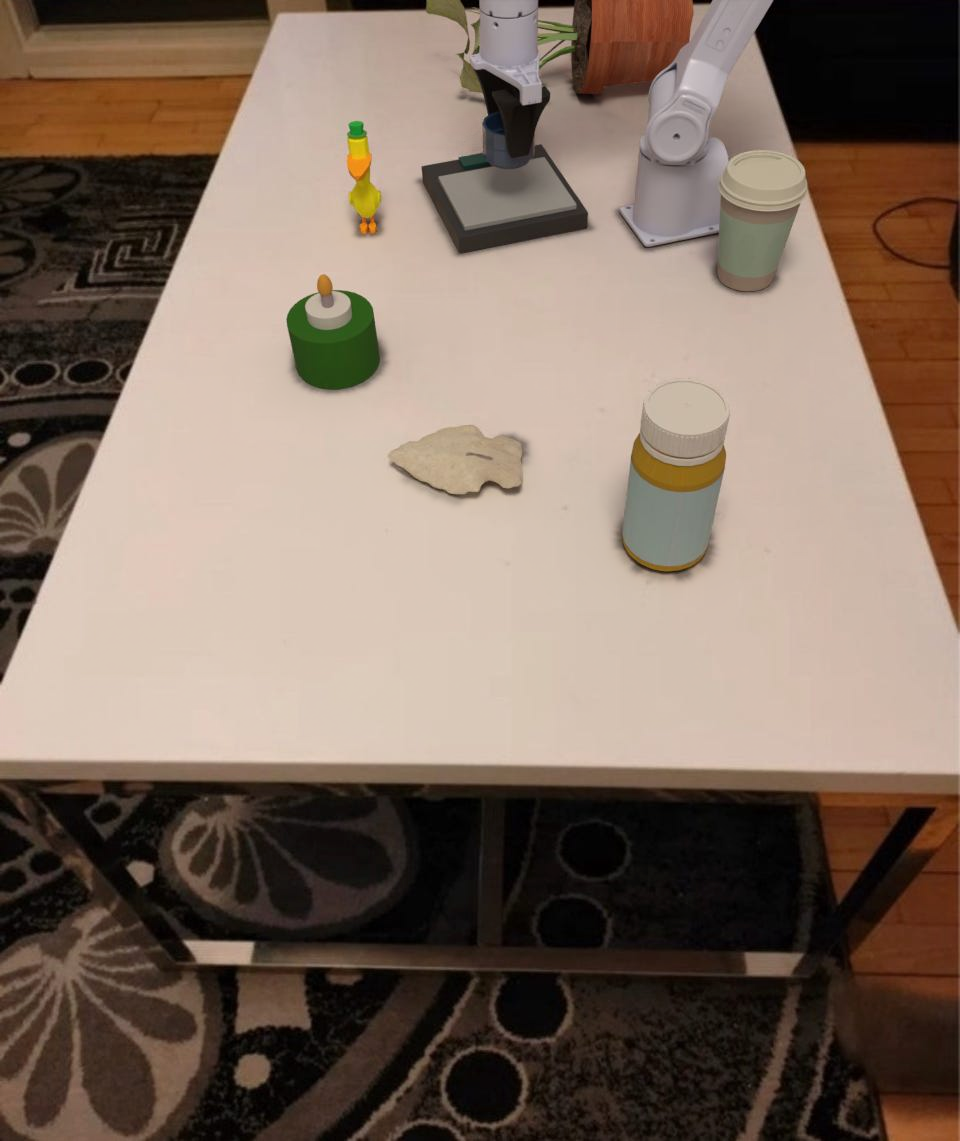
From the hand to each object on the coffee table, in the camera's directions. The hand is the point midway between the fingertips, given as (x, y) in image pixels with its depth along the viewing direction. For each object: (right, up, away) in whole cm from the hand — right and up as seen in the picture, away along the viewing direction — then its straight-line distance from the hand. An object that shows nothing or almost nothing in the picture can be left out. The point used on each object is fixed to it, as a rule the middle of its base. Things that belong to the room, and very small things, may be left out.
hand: (509, 141), depth 109 cm
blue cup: (0, -1, +1) cm, 2 cm away
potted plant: (+6, +17, +26) cm, 31 cm away
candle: (-17, -26, -9) cm, 32 cm away
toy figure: (-16, -8, +6) cm, 19 cm away
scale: (-1, -4, +8) cm, 9 cm away
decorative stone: (-5, -37, -19) cm, 42 cm away
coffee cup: (+25, -15, -2) cm, 29 cm away
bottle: (+12, -44, -25) cm, 52 cm away
